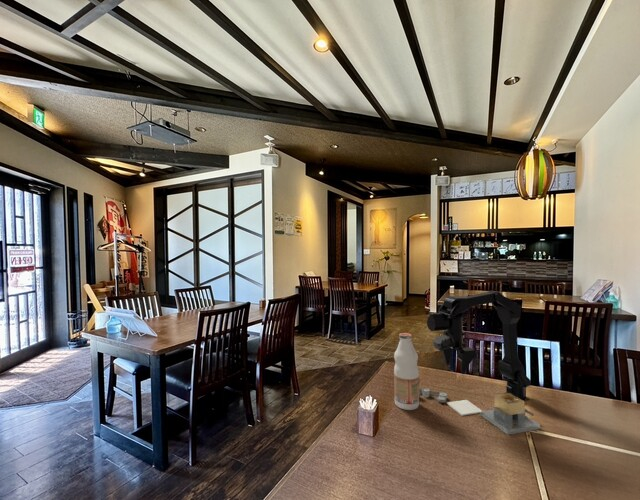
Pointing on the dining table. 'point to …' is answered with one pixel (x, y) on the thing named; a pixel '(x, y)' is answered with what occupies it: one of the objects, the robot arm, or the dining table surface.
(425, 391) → the pulley system
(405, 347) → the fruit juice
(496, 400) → the brass collar
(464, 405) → the felt mat
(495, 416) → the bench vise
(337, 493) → the dining table surface
